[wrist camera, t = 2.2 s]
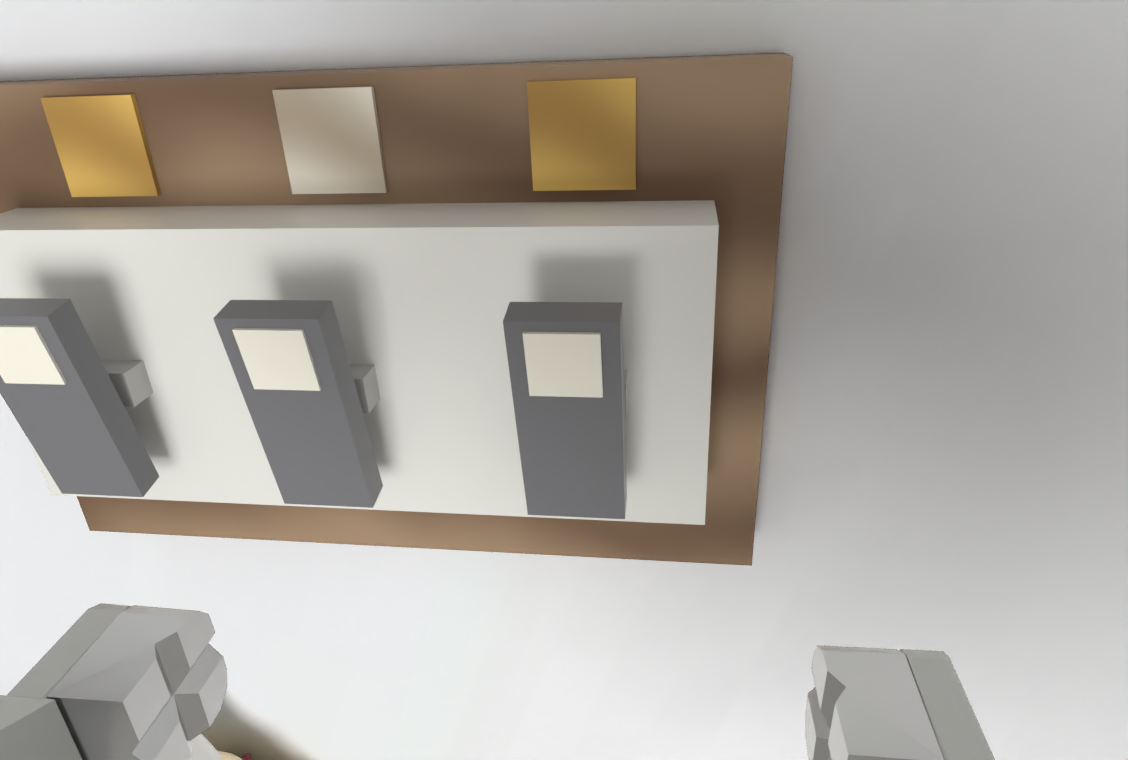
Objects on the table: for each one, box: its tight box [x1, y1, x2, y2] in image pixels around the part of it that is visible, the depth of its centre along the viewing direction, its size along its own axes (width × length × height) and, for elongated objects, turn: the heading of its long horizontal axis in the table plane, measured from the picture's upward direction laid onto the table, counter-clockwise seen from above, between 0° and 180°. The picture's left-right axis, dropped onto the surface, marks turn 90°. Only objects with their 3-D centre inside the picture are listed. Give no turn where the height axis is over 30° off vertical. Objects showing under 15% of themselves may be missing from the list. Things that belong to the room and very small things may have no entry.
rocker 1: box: [0, 298, 160, 497], centre depth 24 cm, size 7×3×1 cm, turn 2°
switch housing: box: [0, 200, 719, 525], centre depth 26 cm, size 10×24×4 cm, turn 93°
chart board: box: [0, 53, 793, 565], centre depth 28 cm, size 18×28×2 cm, turn 93°
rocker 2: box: [213, 300, 383, 508], centre depth 23 cm, size 7×3×1 cm, turn 2°
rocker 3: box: [503, 302, 627, 519], centre depth 22 cm, size 7×3×1 cm, turn 3°
